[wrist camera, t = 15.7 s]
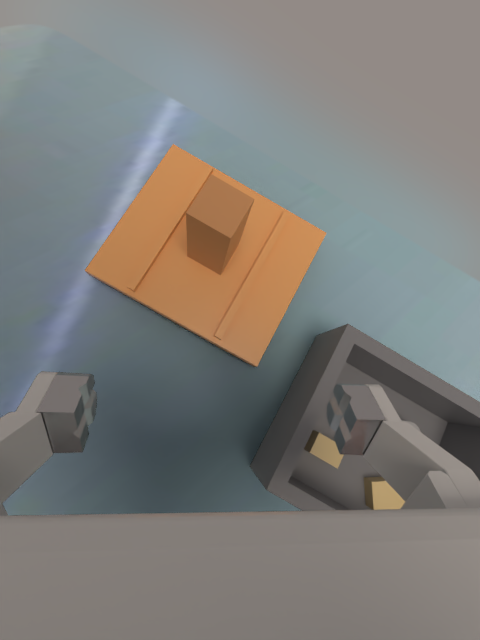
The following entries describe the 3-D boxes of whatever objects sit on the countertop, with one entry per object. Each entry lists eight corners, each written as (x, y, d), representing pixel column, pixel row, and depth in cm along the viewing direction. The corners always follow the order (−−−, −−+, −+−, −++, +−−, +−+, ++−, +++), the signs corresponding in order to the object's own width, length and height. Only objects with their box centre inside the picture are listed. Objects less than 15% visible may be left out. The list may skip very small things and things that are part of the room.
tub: (249, 466, 26) (266, 489, 21) (316, 335, 29) (347, 323, 23) (401, 553, 27) (459, 600, 21) (453, 416, 30) (517, 424, 24)
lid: (94, 280, 28) (45, 228, 18) (174, 163, 31) (167, 67, 21) (251, 367, 28) (280, 360, 19) (315, 244, 31) (368, 186, 22)
